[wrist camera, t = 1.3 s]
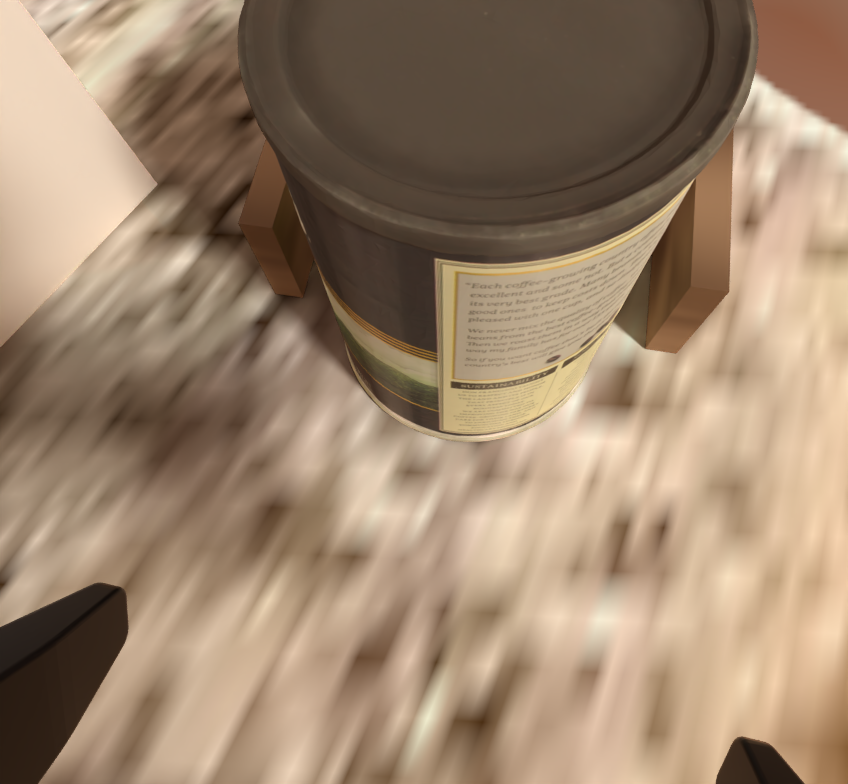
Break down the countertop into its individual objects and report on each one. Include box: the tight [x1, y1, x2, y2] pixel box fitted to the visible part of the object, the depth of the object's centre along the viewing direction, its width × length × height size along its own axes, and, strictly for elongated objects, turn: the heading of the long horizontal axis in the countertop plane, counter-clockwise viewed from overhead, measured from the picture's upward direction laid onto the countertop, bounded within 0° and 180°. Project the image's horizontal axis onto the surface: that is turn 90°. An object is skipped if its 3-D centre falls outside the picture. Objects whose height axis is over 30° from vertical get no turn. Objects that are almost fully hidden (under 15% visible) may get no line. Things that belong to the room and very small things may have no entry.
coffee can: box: [238, 0, 758, 442], centre depth 19 cm, size 10×10×14 cm
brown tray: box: [238, 129, 733, 353], centre depth 26 cm, size 14×16×5 cm
